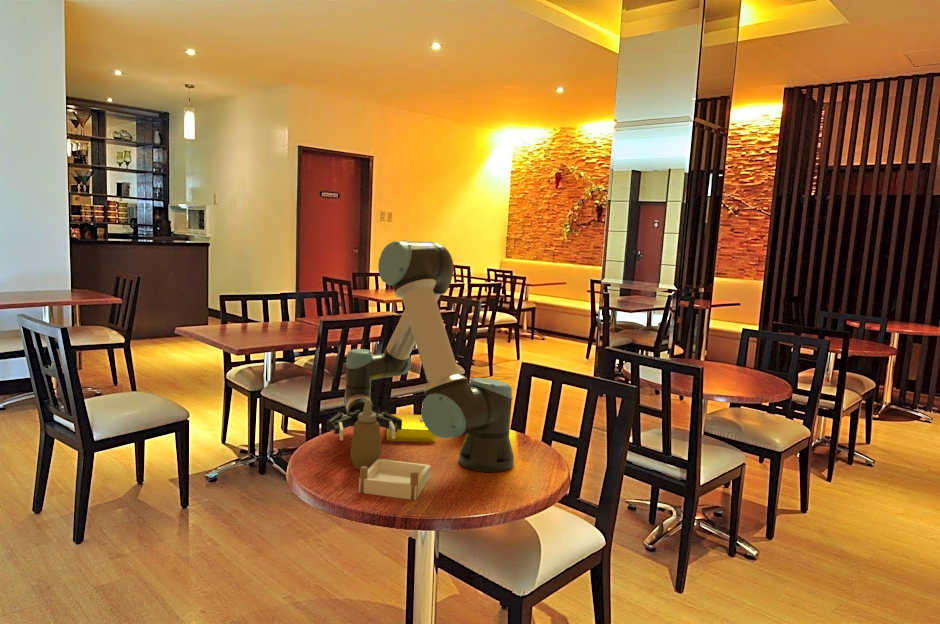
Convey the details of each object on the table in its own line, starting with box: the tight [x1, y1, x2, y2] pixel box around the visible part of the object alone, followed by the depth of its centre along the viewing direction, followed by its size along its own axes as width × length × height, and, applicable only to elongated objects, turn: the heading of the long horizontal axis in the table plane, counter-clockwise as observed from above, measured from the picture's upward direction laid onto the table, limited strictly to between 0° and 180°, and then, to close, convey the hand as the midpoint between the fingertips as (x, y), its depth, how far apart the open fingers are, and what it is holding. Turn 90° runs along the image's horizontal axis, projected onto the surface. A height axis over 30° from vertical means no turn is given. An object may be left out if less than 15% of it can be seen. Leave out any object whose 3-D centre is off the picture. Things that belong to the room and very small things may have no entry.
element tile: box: [386, 413, 438, 443], centre depth 199 cm, size 15×15×5 cm
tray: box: [358, 458, 432, 501], centre depth 158 cm, size 14×14×6 cm
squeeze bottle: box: [349, 399, 382, 471], centre depth 168 cm, size 8×8×18 cm
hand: (368, 434), depth 165 cm, fingers open, 12 cm apart
